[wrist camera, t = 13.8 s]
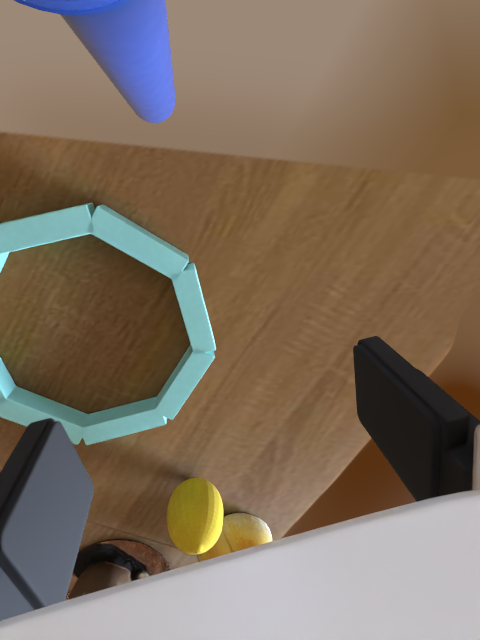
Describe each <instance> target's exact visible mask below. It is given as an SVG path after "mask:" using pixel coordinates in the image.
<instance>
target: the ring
mask: <svg viewBox="0 0 480 640" xmlns="http://www.w3.org/2000/svg"><path fill="white" fill-rule="evenodd" d="M86 234H92V235H94V236H96V237H98V238H100V239H101V240H103V241H105V242H107V243H108V244H110V245H112V246H114V247H116V248H117V249H119V250H121V251H123V252H124V253H126V254H128V255H130V256H132V257H133V258H135V259H137V260H139V261H140V262H142V263H144V264H146V265H148V266H149V267H151V268H153V269H155V270H156V271H158V272H160V273H162V274H164V275H165V276H167V277H169V278H171V279H172V283H173V286H174V289H175V293H176V296H177V300H178V303H179V306H180V310H181V313H182V317H183V320H184V323H185V327H186V330H187V334H188V337H189V340H190V344H191V345H190V346H189V348H188V349H187V351H186V352H185V354H184V355H183V357H182V358H181V360H180V362H179V363H178V365H177V366H176V368H175V369H174V371H173V372H172V374H171V375H170V377H169V379H168V380H167V382H166V383H165V385H164V386H163V388H162V389H161V391H160V392H159V394H158V396H157V397H153V398H149V399H145V400H141V401H137V402H134V403H130V404H126V405H122V406H118V407H114V408H110V409H106V410H103V411H99V412H95V413H91V414H86V413H84V412H81V411H78V410H76V409H73V408H71V407H68V406H66V405H63V404H61V403H58V402H56V401H53V400H50V399H48V398H45V397H43V396H40V395H38V394H35V393H33V392H30V391H27V390H25V389H22V388H20V387H17V386H16V385H15V383H14V381H13V379H12V377H11V376H10V374H9V372H8V370H7V368H6V367H5V365H4V363H3V361H2V359H1V357H0V417H2V418H4V419H7V420H10V421H13V422H16V423H18V424H21V425H24V426H27V427H28V425H29V424H30V423H32V422H36V421H40V420H44V419H48V418H52V419H54V420H55V421H60V422H61V423H62V425H63V427H64V429H65V431H66V433H67V434H68V436H69V438H70V440H71V442H72V443H74V444H77V445H78V444H79V442H80V441H81V439H82V437H83V439H84V441H85V443H86V445H90V444H94V443H97V442H101V441H105V440H109V439H113V438H116V437H120V436H124V435H128V434H132V433H135V432H139V431H143V430H147V429H151V428H154V427H158V426H162V425H166V419H167V418H169V419H171V420H173V419H174V417H175V416H176V414H177V413H178V411H179V410H180V408H181V407H182V405H183V404H184V402H185V401H186V399H187V398H188V396H189V395H190V393H191V392H192V391H193V389H194V388H195V386H196V385H197V383H198V382H199V380H200V379H201V377H202V376H203V374H204V373H205V371H206V370H207V368H208V367H209V365H210V364H211V362H212V361H213V359H214V358H215V356H214V350H216V346H215V341H214V337H213V333H212V329H211V325H210V321H209V318H208V314H207V310H206V306H205V302H204V298H203V295H202V291H201V287H200V283H199V279H198V276H197V272H196V268H195V264H194V263H190V264H187V263H188V261H189V257H188V255H187V254H185V253H184V252H182V251H180V250H179V249H177V248H175V247H174V246H172V245H170V244H169V243H167V242H165V241H164V240H162V239H160V238H159V237H157V236H155V235H154V234H152V233H150V232H149V231H147V230H145V229H144V228H142V227H140V226H139V225H137V224H135V223H133V222H132V221H130V220H128V219H127V218H125V217H123V216H122V215H120V214H118V213H117V212H115V211H113V210H112V209H110V208H108V207H107V206H105V205H100V206H97V207H96V209H95V208H94V205H93V203H87V204H83V205H78V206H74V207H70V208H65V209H61V210H56V211H52V212H47V213H43V214H38V215H34V216H29V217H25V218H21V219H16V220H12V221H7V222H3V223H0V272H1V270H2V268H3V265H4V263H5V261H6V259H7V257H8V254H9V252H12V251H17V250H21V249H25V248H30V247H34V246H38V245H43V244H47V243H51V242H56V241H60V240H64V239H69V238H73V237H78V236H82V235H86Z"/></svg>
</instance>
